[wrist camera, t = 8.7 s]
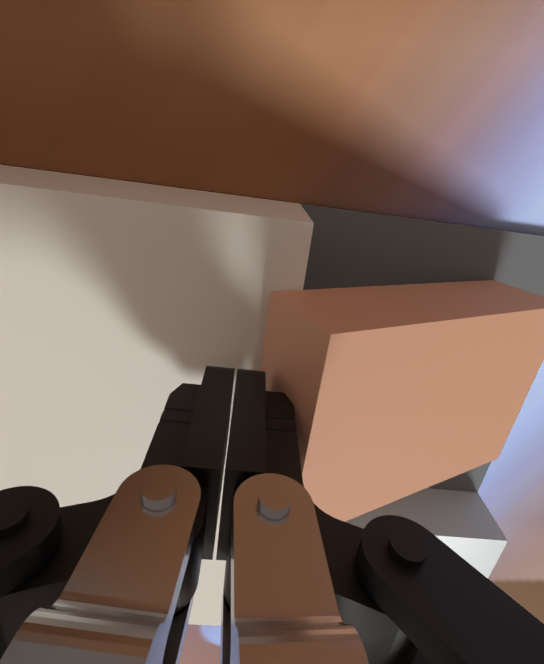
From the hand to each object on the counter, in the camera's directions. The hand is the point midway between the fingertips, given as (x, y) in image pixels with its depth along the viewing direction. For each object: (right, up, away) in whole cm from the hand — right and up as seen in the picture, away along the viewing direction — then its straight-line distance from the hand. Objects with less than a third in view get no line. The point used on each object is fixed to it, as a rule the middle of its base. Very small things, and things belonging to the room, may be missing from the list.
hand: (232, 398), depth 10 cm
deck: (-5, -1, +6) cm, 8 cm away
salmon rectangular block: (+5, 0, +3) cm, 5 cm away
